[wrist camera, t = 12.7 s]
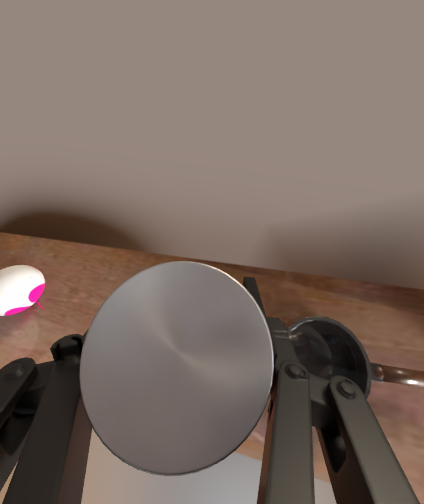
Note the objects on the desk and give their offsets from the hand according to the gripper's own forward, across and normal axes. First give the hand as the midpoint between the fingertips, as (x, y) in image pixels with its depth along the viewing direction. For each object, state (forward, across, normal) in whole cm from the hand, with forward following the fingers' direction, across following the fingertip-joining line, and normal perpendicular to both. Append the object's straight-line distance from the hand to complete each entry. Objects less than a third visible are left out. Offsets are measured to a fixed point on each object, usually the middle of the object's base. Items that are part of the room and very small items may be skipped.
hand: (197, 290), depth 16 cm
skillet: (+9, +16, -17) cm, 24 cm away
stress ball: (+13, -26, -12) cm, 31 cm away
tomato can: (0, 0, -5) cm, 5 cm away
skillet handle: (+6, +25, -15) cm, 30 cm away
